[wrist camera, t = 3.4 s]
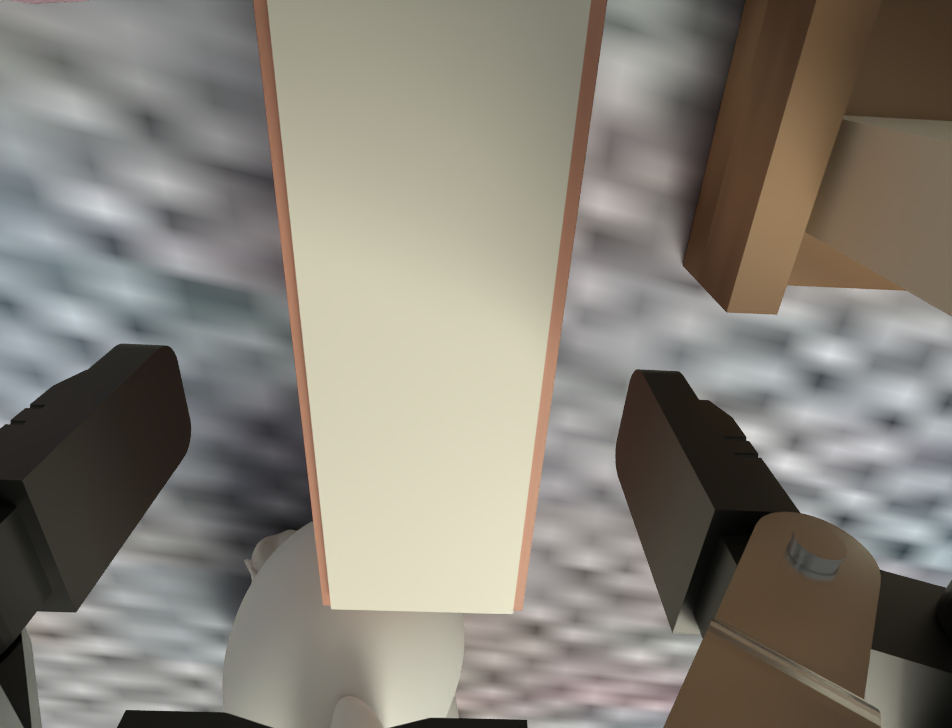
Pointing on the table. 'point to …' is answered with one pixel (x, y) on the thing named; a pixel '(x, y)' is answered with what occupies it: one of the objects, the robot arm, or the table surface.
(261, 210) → the table surface
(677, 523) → the robot arm
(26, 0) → the rabbit figure
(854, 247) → the bookend
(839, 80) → the book rack
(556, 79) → the book
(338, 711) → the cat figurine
